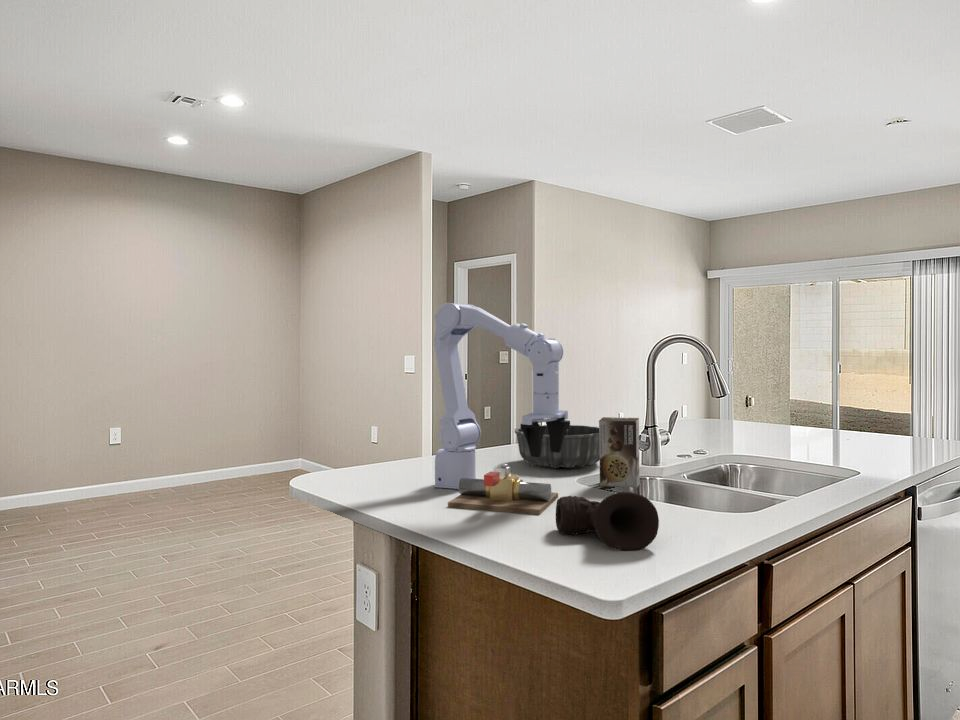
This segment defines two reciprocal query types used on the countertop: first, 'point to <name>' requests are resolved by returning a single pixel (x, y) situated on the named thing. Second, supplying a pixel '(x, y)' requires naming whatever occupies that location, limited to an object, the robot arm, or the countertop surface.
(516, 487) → the valve body
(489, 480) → the valve lever
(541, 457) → the bundt pan
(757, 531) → the countertop surface
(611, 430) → the coffee box
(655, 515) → the pipe
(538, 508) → the mount board
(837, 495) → the countertop surface
